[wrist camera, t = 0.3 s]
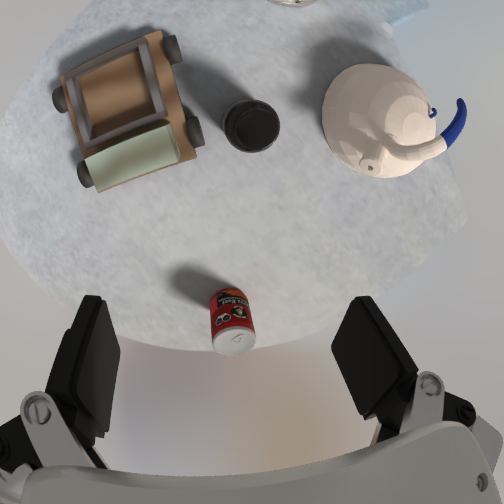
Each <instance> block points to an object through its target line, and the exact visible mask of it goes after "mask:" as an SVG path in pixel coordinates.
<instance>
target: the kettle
mask: <svg viewBox="0 0 504 504" xmlns="http://www.w3.org/2000/svg"><path fill="white" fill-rule="evenodd" d="M457 107H458V110H457V113H456V115H455V117H454V119H453V121H452V122H451V124H450V125H449V126H448V127H447V128H446V129H445V130H444V131H443V132H442V133H441V134H440V135H439V136H437V137H436V138H435V131H436V123H435V116H436V114H437V112H436V109H435V108H432V106H431V104H430V102H429V100H428V98H427V96H426V94H425V93H424V91H423V89H422V88H421V87H420V86H419V85H418V84H417V83H416V82H415V81H414V80H413V79H412V78H410V77H409V76H407V75H406V74H404V73H403V72H401V71H399V70H398V69H396V68H393V67H389V66H385V65H378V64H370V63H366V64H356V65H353V66H351V67H349V68H347V69H344V70H343V71H342V72H341V73H340V74H339V75H337V76H336V77H335V78H334V79H333V81H332V83H331V84H330V86H329V88H328V89H327V91H326V94H325V98H324V102H323V105H322V124H323V129H324V133H325V137H326V139H327V141H328V143H329V145H330V147H331V149H332V151H333V152H334V154H335V155H336V156H337V157H338V158H339V159H340V160H341V162H343V163H344V164H346V165H347V166H349V167H350V168H352V169H354V170H357V171H360V172H362V173H365V174H367V175H370V176H374V177H383V178H389V177H397V176H401V175H404V174H407V173H409V172H410V171H412V170H413V169H415V168H416V167H417V166H419V165H420V164H421V163H422V162H423V161H424V160H426V159H429V158H432V157H435V156H437V155H439V154H440V153H442V152H443V151H445V150H446V149H448V148H449V147H450V145H451V144H452V143H453V142H454V141H455V140H456V138H457V137H458V135H459V134H460V132H461V131H462V129H463V127H464V124H465V121H466V115H467V109H466V105H465V103H464V101H463V100H462V99H461V98H459V99H458V100H457Z"/></svg>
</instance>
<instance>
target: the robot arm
mask: <svg viewBox="0 0 504 504" xmlns="http://www.w3.org/2000/svg"><path fill="white" fill-rule="evenodd" d="M268 1H271V2H273V3H276V4H279V5H283V6H289V7H301V6H307V5H310V4H313V3H315V2H316V1H318V0H268ZM296 2H297V3H296ZM331 349H332V353H333V355H334V357H335V360H336V361H337V364H338V366H339V368H340V371H341V373H342V375H343V378H344V379H345V382H346V384H347V386H348V389H349V391H350V394H351V396H352V398H353V401H354V403H355V405H356V408H357V410H358V412H359V414H360V415H363V417H364V420H368V419H370V418H374V417H376V416H377V418H378V423H377V426H376V429H375V433H374V435H373V439H372V441H371V444H370V446H369V447H366V448H363V449H360V450H357V451H354V452H351V453H348V454H344V455H341V456H338V457H334V458H330V459H326V460H322V461H318V462H315V463H310V464H306V465H301V466H296V467H291V468H285V469H280V470H273V471H267V472H259V473H251V474H240V475H228V476H205V477H204V476H203V477H186V476H163V475H148V474H137V473H129V472H121V471H114V470H111V469H110V468H109V466H108V465H107V464H106V462H105V461H104V460H103V459H102V457H101V455H100V454H99V453H98V451H97V450H96V448H95V447H94V444H95V437H100V438H104V435H105V432H108V431H109V427H110V426H109V425H110V418H111V410H112V401H113V395H114V389H115V382H116V376H117V370H118V365H119V360H120V347H119V344H118V341H117V338H116V335H115V331H114V328H113V325H112V321H111V318H110V314H109V311H108V307H107V304H106V301H105V300H102V299H101V297H100V296H94V295H85V296H84V298H83V300H82V302H81V305H80V307H79V309H78V312H77V314H76V317H75V319H74V321H73V324H72V326H71V329H68V330H66V332H65V334H64V336H63V338H62V341H61V344H60V346H59V349H58V352H57V355H56V358H55V361H54V364H53V367H52V369H51V373H50V376H49V379H48V382H47V386H46V389H45V392H42V391H35V392H31V393H29V394H28V395H27V396H25V398H24V399H23V401H22V403H21V407H20V415H18V416H17V417H15V418H13V419H12V420H10V421H9V422H7V423H5V424H3V425H2V426H0V504H502V502H501V498H500V495H499V492H498V489H497V486H496V483H495V480H494V477H493V475H492V473H493V471H494V468H495V466H496V463H497V460H498V457H499V454H500V452H501V448H502V444H503V439H502V436H501V434H500V433H499V432H498V431H497V430H496V429H495V428H493V427H492V426H491V425H490V424H489V423H487V422H486V421H485V420H484V419H482V418H481V417H480V416H478V415H477V416H476V412H475V409H474V407H473V405H472V404H471V403H470V402H468V401H467V400H464V399H462V398H459V397H457V396H455V395H453V394H450V393H448V392H446V391H445V389H444V384H443V381H442V380H441V379H440V377H439V376H437V375H436V374H435V373H433V372H429V371H425V372H422V373H420V374H419V375H417V372H418V370H419V369H418V368H417V366H416V364H415V363H414V361H413V359H412V358H411V356H410V355H409V353H408V351H407V350H406V348H405V347H404V345H403V344H402V342H401V341H400V339H399V337H398V336H397V334H396V333H395V331H394V330H393V329H392V327H391V325H390V324H389V322H388V321H387V319H386V318H385V317H384V315H383V314H382V312H381V311H380V309H379V308H378V307H377V305H376V303H375V302H374V301H373V299H372V298H371V297H370V296H358V297H355V299H354V300H352V301H351V303H350V305H349V307H348V310H347V312H346V314H345V316H344V319H343V321H342V323H341V325H340V327H339V330H338V332H337V334H336V336H335V338H334V340H333V342H332V345H331Z"/></svg>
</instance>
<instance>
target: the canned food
mask: <svg viewBox="0 0 504 504" xmlns="http://www.w3.org/2000/svg"><path fill="white" fill-rule="evenodd" d="M210 316H211V333H212V344H213V348H214V350H215V351H216V352H218V353H219V354H221V355H225V356H237V355H241V354H244V353H246V352H248V351H250V350H251V349H252V348H253V347H254V345H255V343H256V335H255V330H254V326H253V321H252V317H251V313H250V308H249V303H248V299H247V297H246V296H245V294H244V293H243V292H241V291H240V290H237V289H224V290H221V291H219V292H218V293H216V294H215V295H214V296H213V298H212V300H211V303H210Z"/></svg>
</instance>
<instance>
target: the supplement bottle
mask: <svg viewBox="0 0 504 504" xmlns="http://www.w3.org/2000/svg"><path fill="white" fill-rule="evenodd" d="M222 126H223V130H224V133H225V135H226V138H227V139H228V141H229V142H230V143H231V144H232V145H233V146H234V147H235V148H236V149H238V150H240V151H243V152H247V153H257V152H261V151H263V150H266V149H267V148H269V147H270V146H271V145H272V144H273V143H274V142H275V141H276V139H277V137H278V135H279V131H280V121H279V117H278V115H277V113H276V112H275V110H274V109H273V108H272V107H271V106H270V105H268V104H267V103H265V102H262V101H259V100H240V101H236V102H234V103H233V104H231V105H230V106H229V107H228V108H227V109H226V111H225V112H224V114H223V118H222Z"/></svg>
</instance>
